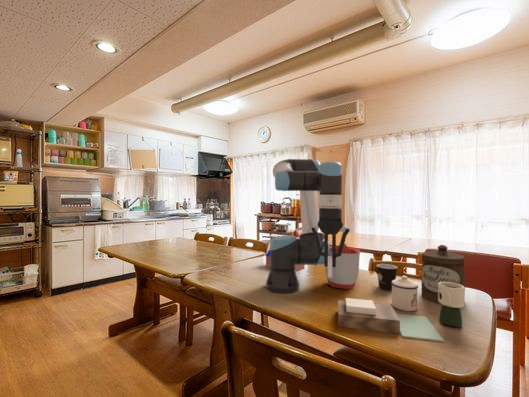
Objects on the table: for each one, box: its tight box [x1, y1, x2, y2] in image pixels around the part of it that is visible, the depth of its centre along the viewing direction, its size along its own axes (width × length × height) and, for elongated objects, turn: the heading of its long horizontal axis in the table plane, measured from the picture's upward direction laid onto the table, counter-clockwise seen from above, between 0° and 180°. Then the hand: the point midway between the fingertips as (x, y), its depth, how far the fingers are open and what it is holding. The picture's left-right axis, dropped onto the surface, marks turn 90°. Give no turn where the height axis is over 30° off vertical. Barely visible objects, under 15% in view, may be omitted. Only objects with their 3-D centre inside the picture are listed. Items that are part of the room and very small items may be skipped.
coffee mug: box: [374, 263, 398, 292], centre depth 126 cm, size 12×9×10 cm
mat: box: [396, 313, 445, 343], centre depth 88 cm, size 11×16×1 cm
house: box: [265, 249, 306, 273], centre depth 159 cm, size 12×20×12 cm, turn 49°
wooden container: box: [421, 244, 466, 305], centre depth 113 cm, size 15×15×22 cm
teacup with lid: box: [391, 275, 419, 312], centre depth 105 cm, size 12×9×12 cm
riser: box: [337, 300, 401, 335], centre depth 91 cm, size 18×12×4 cm, turn 76°
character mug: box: [438, 282, 465, 327], centre depth 90 cm, size 11×7×13 cm, turn 141°
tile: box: [345, 297, 376, 315], centre depth 92 cm, size 9×7×2 cm
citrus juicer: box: [324, 242, 361, 290], centre depth 128 cm, size 16×17×20 cm
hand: (329, 276), depth 94 cm, fingers closed
